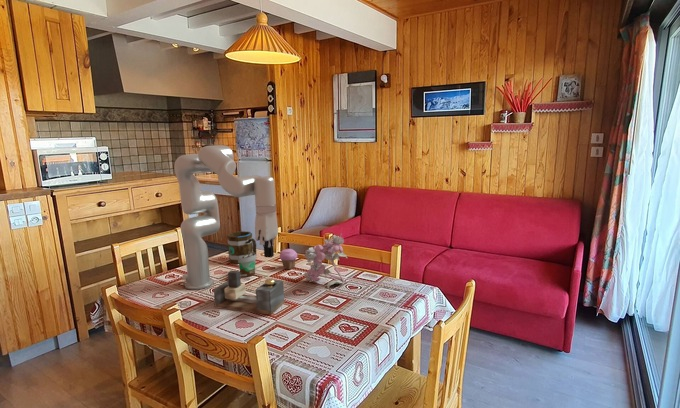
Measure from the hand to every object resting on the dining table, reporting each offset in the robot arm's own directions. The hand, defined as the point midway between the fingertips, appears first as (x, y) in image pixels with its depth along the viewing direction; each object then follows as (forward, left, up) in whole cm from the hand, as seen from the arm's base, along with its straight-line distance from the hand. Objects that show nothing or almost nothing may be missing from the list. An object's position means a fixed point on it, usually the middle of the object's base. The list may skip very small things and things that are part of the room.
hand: (269, 256), depth 147 cm
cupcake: (-14, +45, -21) cm, 52 cm away
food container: (-28, +31, -21) cm, 47 cm away
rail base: (-10, 0, -21) cm, 23 cm away
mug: (-42, +48, -21) cm, 68 cm away
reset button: (0, 0, -15) cm, 15 cm away
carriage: (-16, 0, -18) cm, 24 cm away
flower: (+10, +29, -21) cm, 37 cm away
